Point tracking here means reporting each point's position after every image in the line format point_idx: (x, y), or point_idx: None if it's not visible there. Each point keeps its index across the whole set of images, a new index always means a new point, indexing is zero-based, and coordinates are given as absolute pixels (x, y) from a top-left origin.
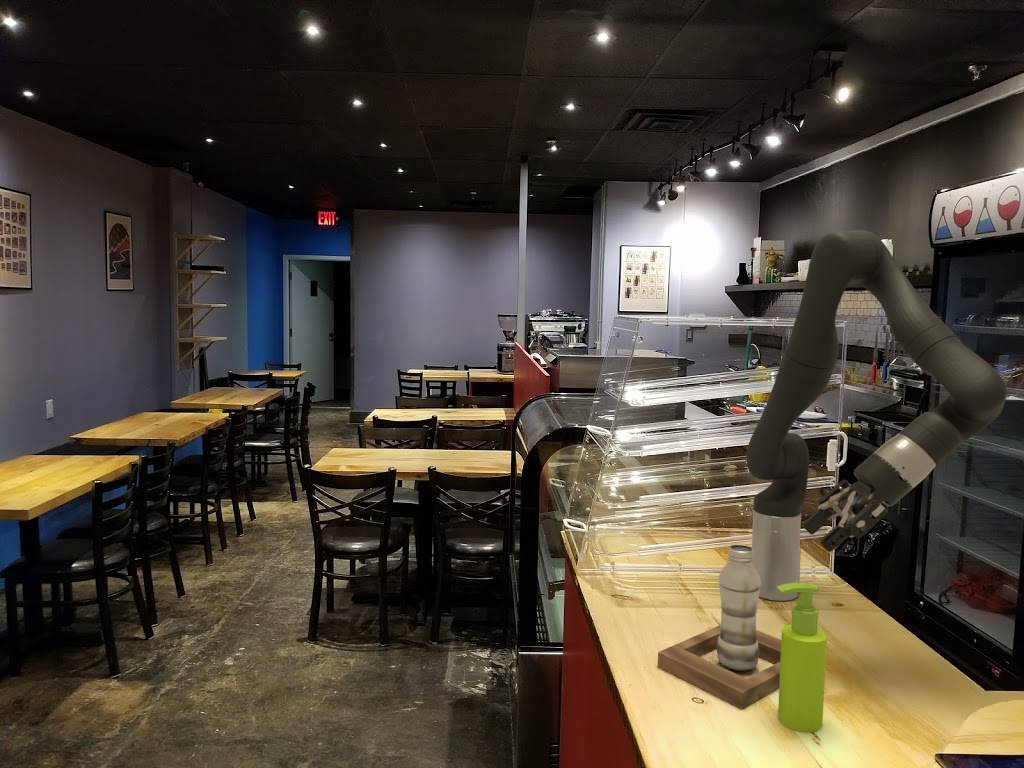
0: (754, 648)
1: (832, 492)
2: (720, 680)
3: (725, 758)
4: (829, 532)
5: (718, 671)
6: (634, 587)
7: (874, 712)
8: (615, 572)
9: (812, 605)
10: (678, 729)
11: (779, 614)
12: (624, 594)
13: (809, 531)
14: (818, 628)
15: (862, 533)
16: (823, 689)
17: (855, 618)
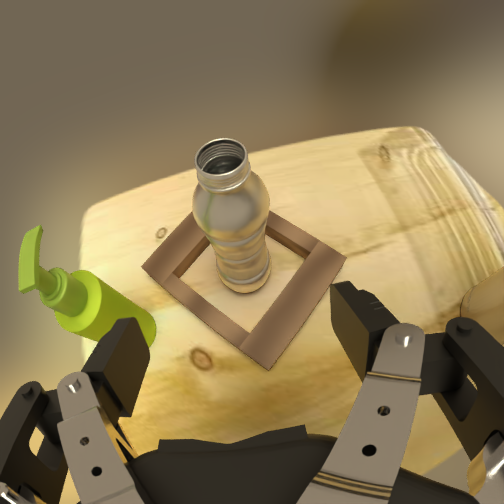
0: (225, 278)
1: (498, 388)
2: (164, 244)
3: (81, 257)
4: (110, 343)
5: (185, 242)
6: (414, 164)
7: (168, 418)
8: (437, 150)
9: (50, 297)
10: (115, 221)
11: (426, 327)
12: (391, 156)
13: (331, 313)
14: (87, 325)
15: (46, 439)
16: None
17: (442, 424)
